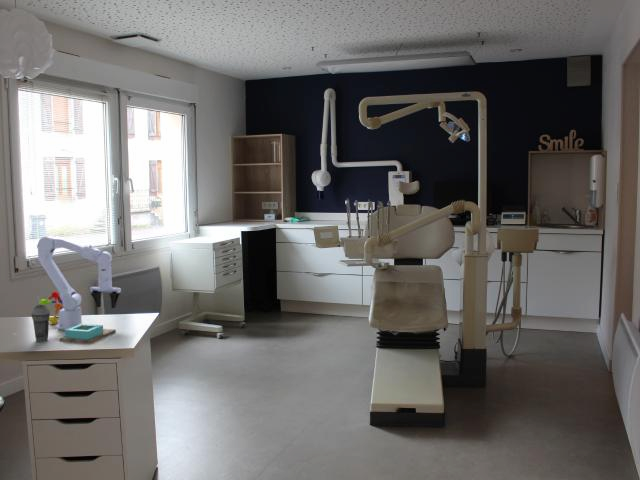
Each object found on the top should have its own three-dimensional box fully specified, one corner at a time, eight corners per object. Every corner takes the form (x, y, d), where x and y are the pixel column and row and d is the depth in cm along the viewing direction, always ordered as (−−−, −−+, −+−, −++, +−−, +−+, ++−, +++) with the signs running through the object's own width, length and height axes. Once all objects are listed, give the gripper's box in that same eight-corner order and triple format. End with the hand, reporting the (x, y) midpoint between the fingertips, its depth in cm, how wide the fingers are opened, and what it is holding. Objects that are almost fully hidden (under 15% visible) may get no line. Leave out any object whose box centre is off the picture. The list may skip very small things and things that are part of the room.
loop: (65, 337, 270) (65, 329, 270) (81, 331, 281) (80, 323, 280) (88, 339, 268) (88, 331, 267) (103, 333, 278) (103, 325, 278)
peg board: (59, 341, 270) (59, 327, 269) (86, 330, 288) (85, 317, 287) (91, 343, 266) (90, 330, 266) (115, 332, 285) (115, 319, 284)
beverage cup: (39, 344, 265) (37, 296, 263) (28, 341, 269) (26, 294, 267) (54, 340, 271) (52, 293, 269) (44, 337, 275) (42, 292, 273)
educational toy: (77, 321, 308) (78, 291, 305) (56, 328, 296) (57, 296, 294) (54, 315, 314) (55, 286, 312) (32, 321, 302) (33, 290, 300)
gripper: (85, 279, 288) (87, 308, 290) (114, 280, 285) (115, 310, 286) (94, 276, 295) (95, 305, 296) (123, 277, 292) (123, 306, 293)
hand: (106, 307), depth 292 cm, fingers open, 7 cm apart
